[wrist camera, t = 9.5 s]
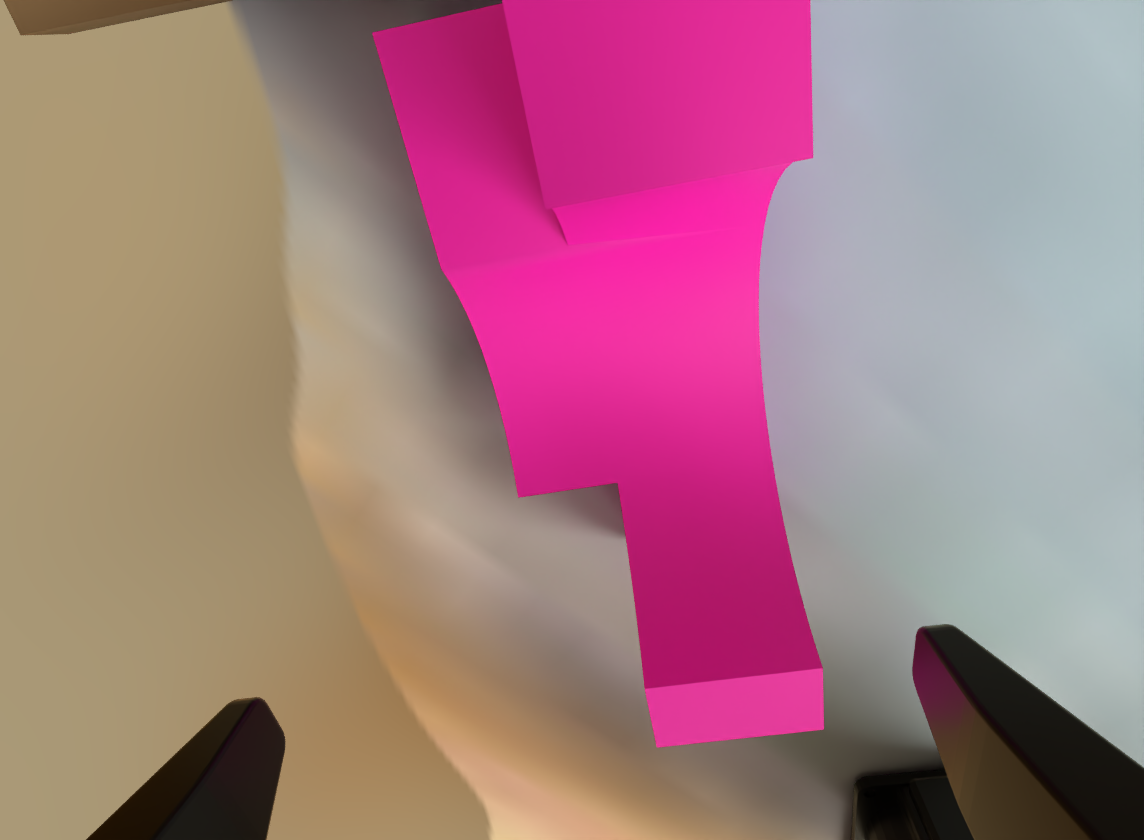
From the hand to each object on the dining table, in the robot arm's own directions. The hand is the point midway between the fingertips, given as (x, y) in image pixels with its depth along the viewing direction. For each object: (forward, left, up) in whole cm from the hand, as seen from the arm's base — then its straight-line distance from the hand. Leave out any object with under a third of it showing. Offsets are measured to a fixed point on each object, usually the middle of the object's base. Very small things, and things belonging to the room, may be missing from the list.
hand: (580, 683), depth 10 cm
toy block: (+1, -1, -11) cm, 11 cm away
